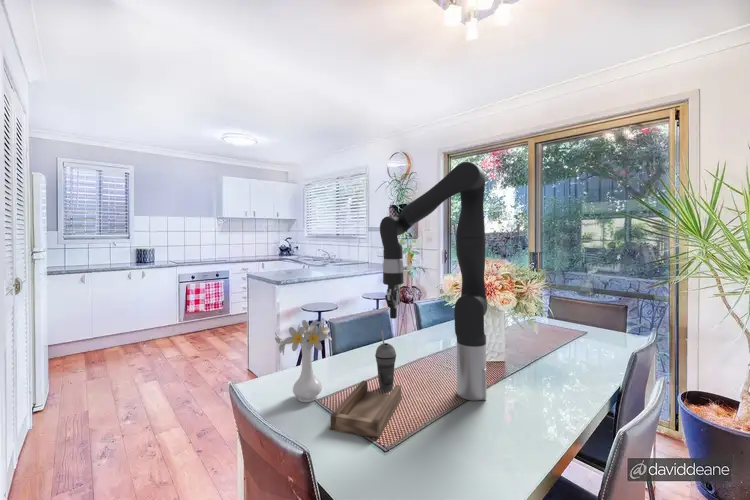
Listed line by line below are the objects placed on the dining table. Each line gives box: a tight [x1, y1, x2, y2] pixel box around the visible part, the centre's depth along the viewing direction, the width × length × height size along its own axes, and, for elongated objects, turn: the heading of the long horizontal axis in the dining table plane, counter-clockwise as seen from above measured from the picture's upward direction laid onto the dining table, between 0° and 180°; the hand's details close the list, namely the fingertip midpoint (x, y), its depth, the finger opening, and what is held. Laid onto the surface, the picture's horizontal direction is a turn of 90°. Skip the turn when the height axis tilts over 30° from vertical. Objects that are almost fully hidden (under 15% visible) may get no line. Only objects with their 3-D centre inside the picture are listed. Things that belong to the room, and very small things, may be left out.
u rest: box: [329, 380, 403, 440], centre depth 102 cm, size 14×24×4 cm, turn 161°
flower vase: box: [274, 319, 333, 403], centre depth 111 cm, size 13×18×25 cm
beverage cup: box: [374, 330, 397, 392], centre depth 118 cm, size 7×7×20 cm
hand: (393, 318), depth 127 cm, fingers closed
